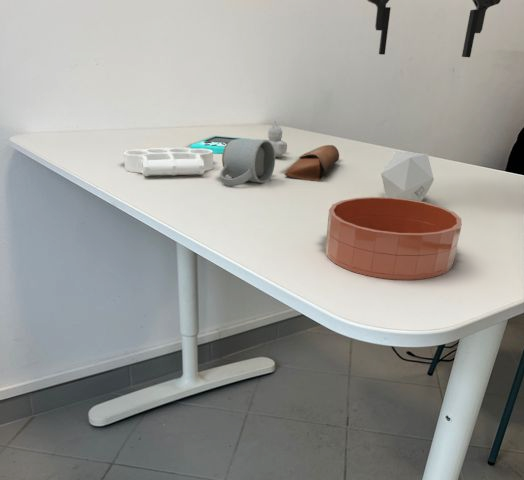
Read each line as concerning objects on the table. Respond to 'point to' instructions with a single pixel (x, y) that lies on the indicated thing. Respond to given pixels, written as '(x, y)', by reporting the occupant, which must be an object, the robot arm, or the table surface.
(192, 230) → the table surface
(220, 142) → the handheld game console
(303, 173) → the sunglasses case
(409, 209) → the bowl
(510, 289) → the table surface
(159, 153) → the white compartment tray
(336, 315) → the table surface
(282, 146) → the grey rounded figure
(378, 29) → the robot arm
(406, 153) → the die
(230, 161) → the ceramic mug
